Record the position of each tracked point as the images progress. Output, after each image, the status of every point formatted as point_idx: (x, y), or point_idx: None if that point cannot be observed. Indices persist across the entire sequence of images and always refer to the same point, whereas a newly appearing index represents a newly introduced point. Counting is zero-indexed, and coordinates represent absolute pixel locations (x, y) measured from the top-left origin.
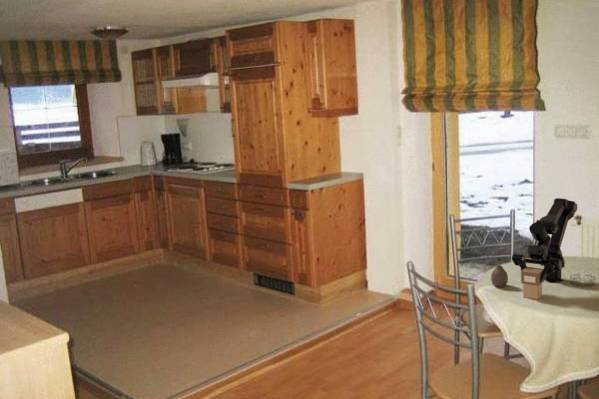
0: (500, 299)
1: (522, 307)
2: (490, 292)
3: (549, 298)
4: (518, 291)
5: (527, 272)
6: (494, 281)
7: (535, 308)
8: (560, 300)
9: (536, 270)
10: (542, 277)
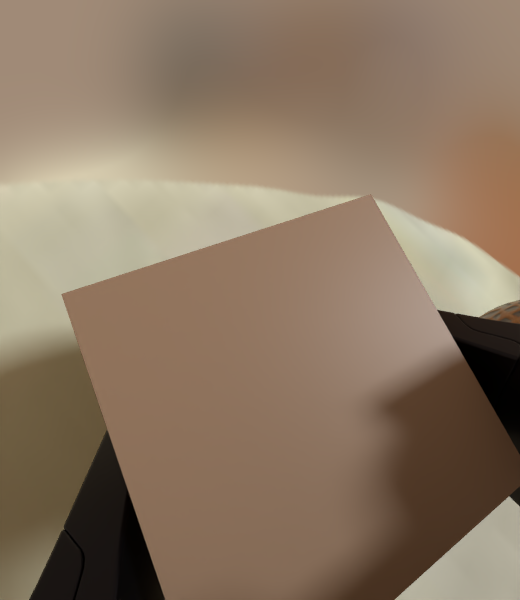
0: (308, 200)
1: (138, 183)
2: (417, 243)
3: None
4: None
5: (277, 224)
6: (508, 303)
7: (67, 221)
8: (26, 501)
9: (253, 441)
10: (106, 435)
